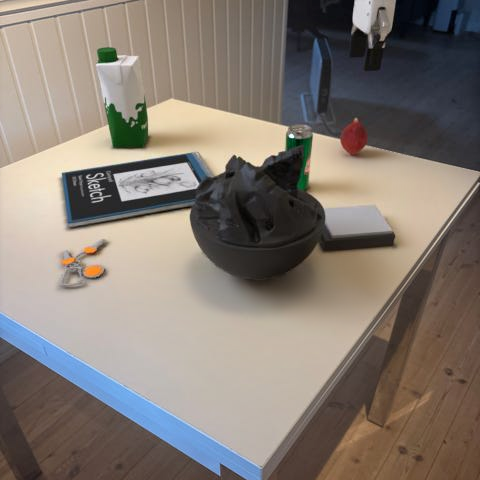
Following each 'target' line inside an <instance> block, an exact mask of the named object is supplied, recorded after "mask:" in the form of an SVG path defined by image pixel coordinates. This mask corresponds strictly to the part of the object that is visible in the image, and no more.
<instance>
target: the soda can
mask: <svg viewBox="0 0 480 480" xmlns="http://www.w3.org/2000/svg"><path fill="white" fill-rule="evenodd" d="M313 140H314V134H313V131H312V127H311V126H310V125H307V124H303V123H301V124H300V123H297V124H292V125H289V126H288V128H287V131H286V133H285V145H284V151H287V150H290V149H292V148H294V147H297V146H300V145H303V146H304V150H305V151H304V157H303V168H302V170H301V175H300V180H299V182H298V186H297V188H298V189H301V190H303V191H306V190H307V189H308V188H309V182H310V173H311V162H312V150H313Z"/></svg>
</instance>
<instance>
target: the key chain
mask: <svg viewBox="0 0 480 480" xmlns="http://www.w3.org/2000/svg"><path fill="white" fill-rule="evenodd" d="M105 242H106V239H104V238H101V239H100V240H98V241H97V242H96V243H95V244H93V245H89V246H86V247H85V248H84V251H83V252H80V253H78V254H76V255H75V256H73V257H72V256H70V253H69V250H68V249H65V250H63V251H62V257H63V259H62V260H61V264H63V265H64V272H63V274H62V275H61V279H60V281H59V285H60V286H61V287H72V286H73V287H74V286H78V285H81V284H82V282H83V279H82V275H83V276H84V277H85V278H88V279H94V278H95V279H96V278H99V277H100V276H102V275H103V273H104V272H105V268H104V266H101V265H99V264H92V265H89V266H86V267H85V268H84V267H83V266H82V267H81V266H80V265H81V261H80V260H78V258H79V257H80V256H83V255H85V254H93V253H96V252H97V251H98V248H99V247H100V246H102V245H103V244H104V243H105ZM82 270H83V271H82ZM67 272H68V273H69V272H70V273H74V272H75V273H76V272H78V274H79V281H78V282H73V283H63V282H64V279H65V277H66V276H67V275H66V274H67Z"/></svg>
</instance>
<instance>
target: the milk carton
mask: <svg viewBox="0 0 480 480" xmlns="http://www.w3.org/2000/svg"><path fill="white" fill-rule="evenodd" d="M96 53H97V59H98V60H97V63H96V64H95V68H96V73H97V76H98V79H99V84H100V89H101V95H102V100H103V105H104V110H105V115H106V121H107V125H108V131H109V134H110V139H111V143H112V147H113V148H114V149H115V148H117V149H118V148H119V149H121V148H122V149H123V148H124V149H128V148H129V149H132V148H133V149H136V148H138V149H142V148H144V147H145V145H146V142H147V140H148V138H149V117H148V109H147V102H146V95H145V94H146V93H145V88H144V87H145V86H144V79H143V73H142V67H141V61H140V56H139V55H128V54H123V55H118V53H117V48H115V47H113V46H112V47H111V46H110V47H108V46H107V47H106V46H105V47H100V48H97V50H96Z"/></svg>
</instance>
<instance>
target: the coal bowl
mask: <svg viewBox="0 0 480 480" xmlns="http://www.w3.org/2000/svg"><path fill="white" fill-rule="evenodd" d="M304 151H305V150H304V146H303V145H300V146H297V147H294V148H292V149H290V150H287V151H285V150H282V151H279V152H278V153H277V154H276V155H273V154H271V155H270V156H268V157H266V158H265V159H264V161H263V163H262V165H260V166H259V165H258V166H255V165H254V164H252V163H251V162H250V161H247V160H246V159H243V158H242V157H241V156H240V155H239V156H238V157H237V155H235V154H233V155H232V156H231V158H229V160H228V161H227V163H225V166H224V167H225V168H224V169H225V170H224V171H223V172H222V173H219V174H217V175H214V176H215V177H207V176H206V177H204V179H203V180H202V181H201V182H200V184H199V185H198V187H197V189H196V200H195V203H194V205H193V206H191V209H190V211H189V223H190V228H191V231H192V234H193V236H194V239H195V242H196V243H197V245H198V247H199V249H200V250H201V251H202V253H203V254H204V255H205V257H207V259H209V261H210V262H211V263H213V264H214V265H215V266H216V267H217V268H219V269H221V270H222V271H224V272H225V273H227V274H229V275H232V276H234V277H237V278H241V279H245V280H255V281H256V280H257V281H261V280H269V279H273V278H277V277H280V276H283V275H286V274H287V273H289V272H291V271H293V270H295V269H296V268H298V267H299V266H300V265H301V264H302V263H304V262H305V261H306V259H307V258H308V257H309V256H310V255H311V254H312V252H313V251H314V250H315V248H316V246H317V245H318V243H319V242H320V241H319V239H320V237H321V235H322V232H323V229H324V225H325V220H326V216H325V211H324V206H323V204H322V203H321V202H320V201H319V200H318V199H317V198H316V197H315V196H313V195H312V194H311V193H309V192H308V191H306V190H304V191H303V190H301V189H298V188H297V186H298V182H299V180H300V175H301V170H302V168H303V157H304Z"/></svg>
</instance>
